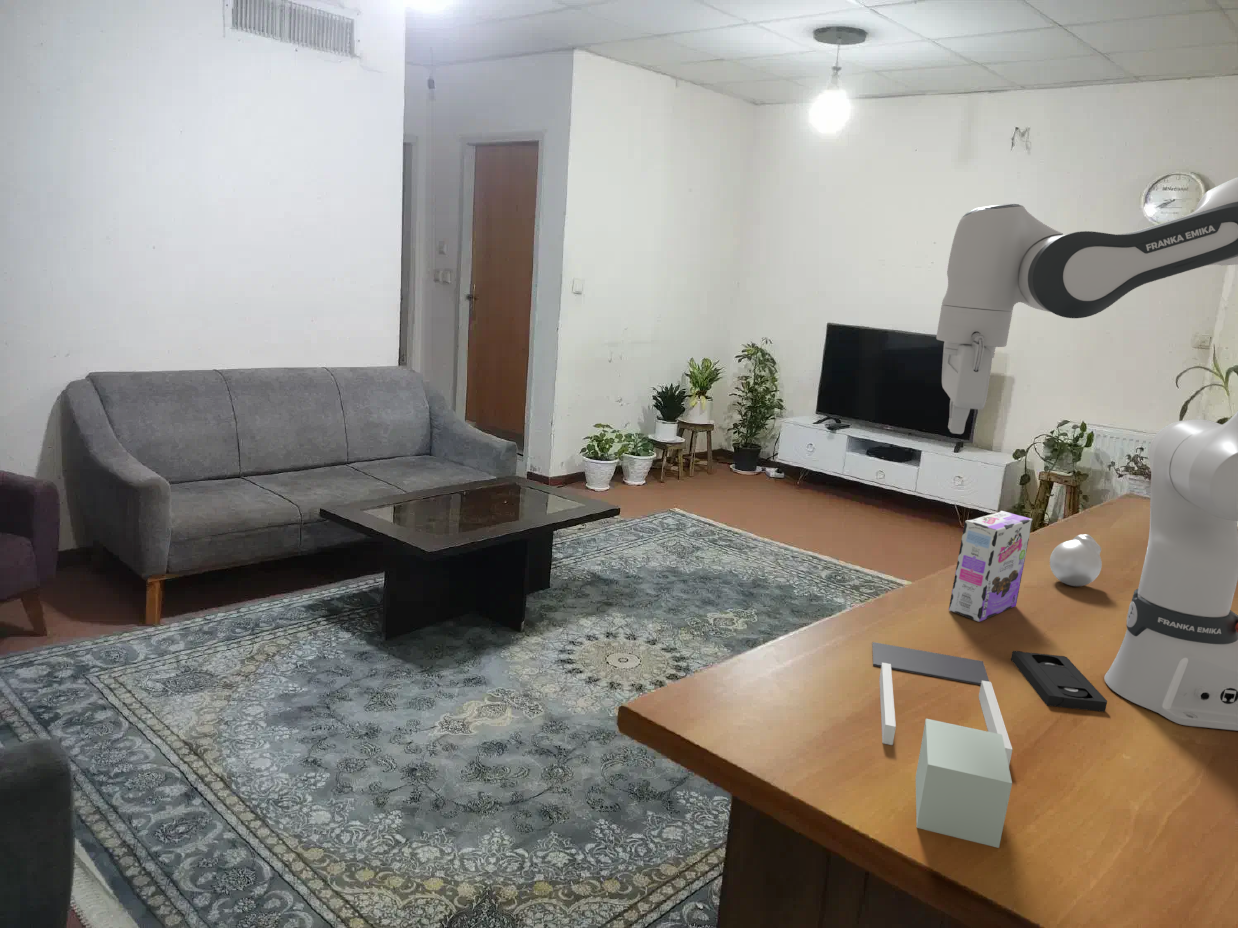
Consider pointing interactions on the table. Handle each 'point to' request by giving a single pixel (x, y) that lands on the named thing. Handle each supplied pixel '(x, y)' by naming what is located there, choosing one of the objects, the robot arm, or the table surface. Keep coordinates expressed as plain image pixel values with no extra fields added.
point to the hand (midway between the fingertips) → (955, 432)
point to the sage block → (962, 783)
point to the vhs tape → (1058, 681)
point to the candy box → (990, 565)
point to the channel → (935, 667)
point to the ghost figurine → (1076, 561)
